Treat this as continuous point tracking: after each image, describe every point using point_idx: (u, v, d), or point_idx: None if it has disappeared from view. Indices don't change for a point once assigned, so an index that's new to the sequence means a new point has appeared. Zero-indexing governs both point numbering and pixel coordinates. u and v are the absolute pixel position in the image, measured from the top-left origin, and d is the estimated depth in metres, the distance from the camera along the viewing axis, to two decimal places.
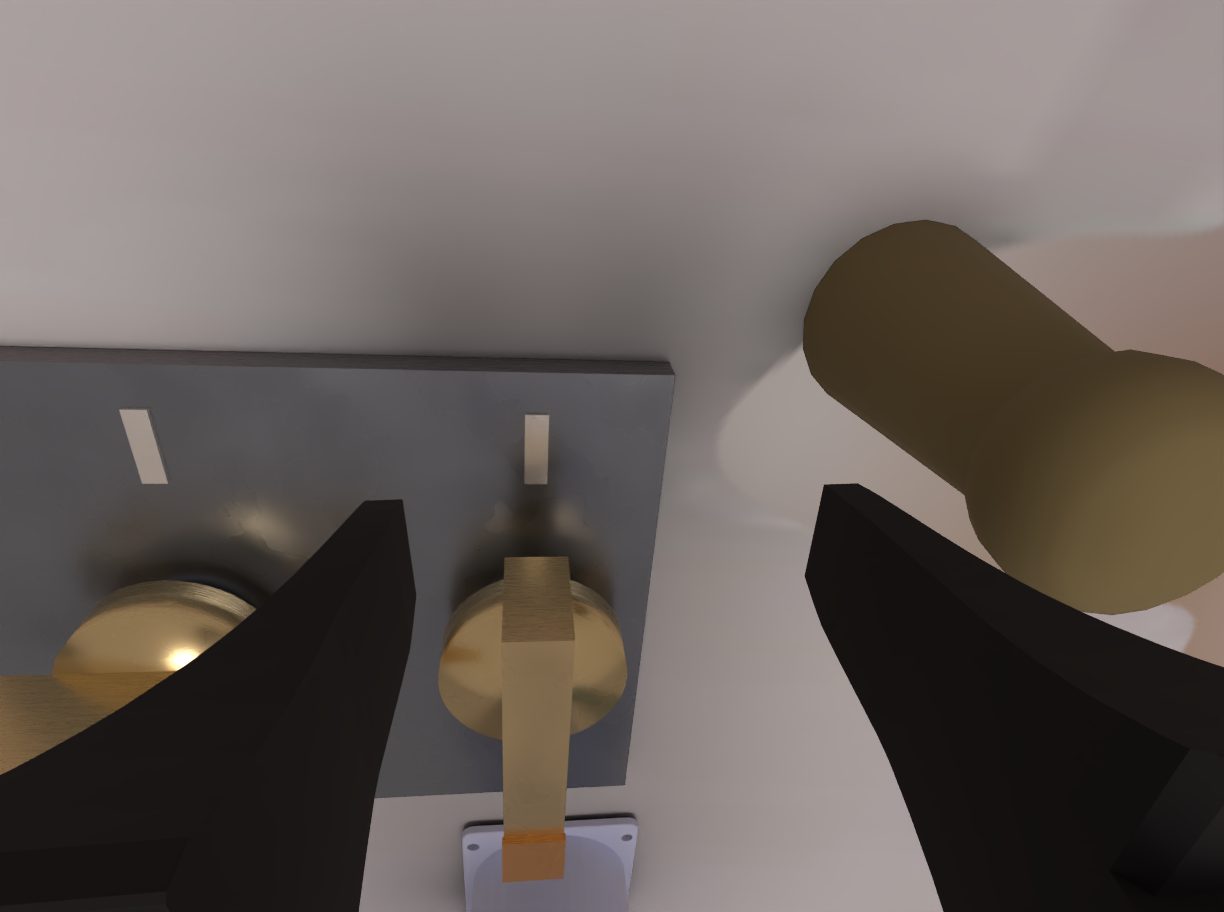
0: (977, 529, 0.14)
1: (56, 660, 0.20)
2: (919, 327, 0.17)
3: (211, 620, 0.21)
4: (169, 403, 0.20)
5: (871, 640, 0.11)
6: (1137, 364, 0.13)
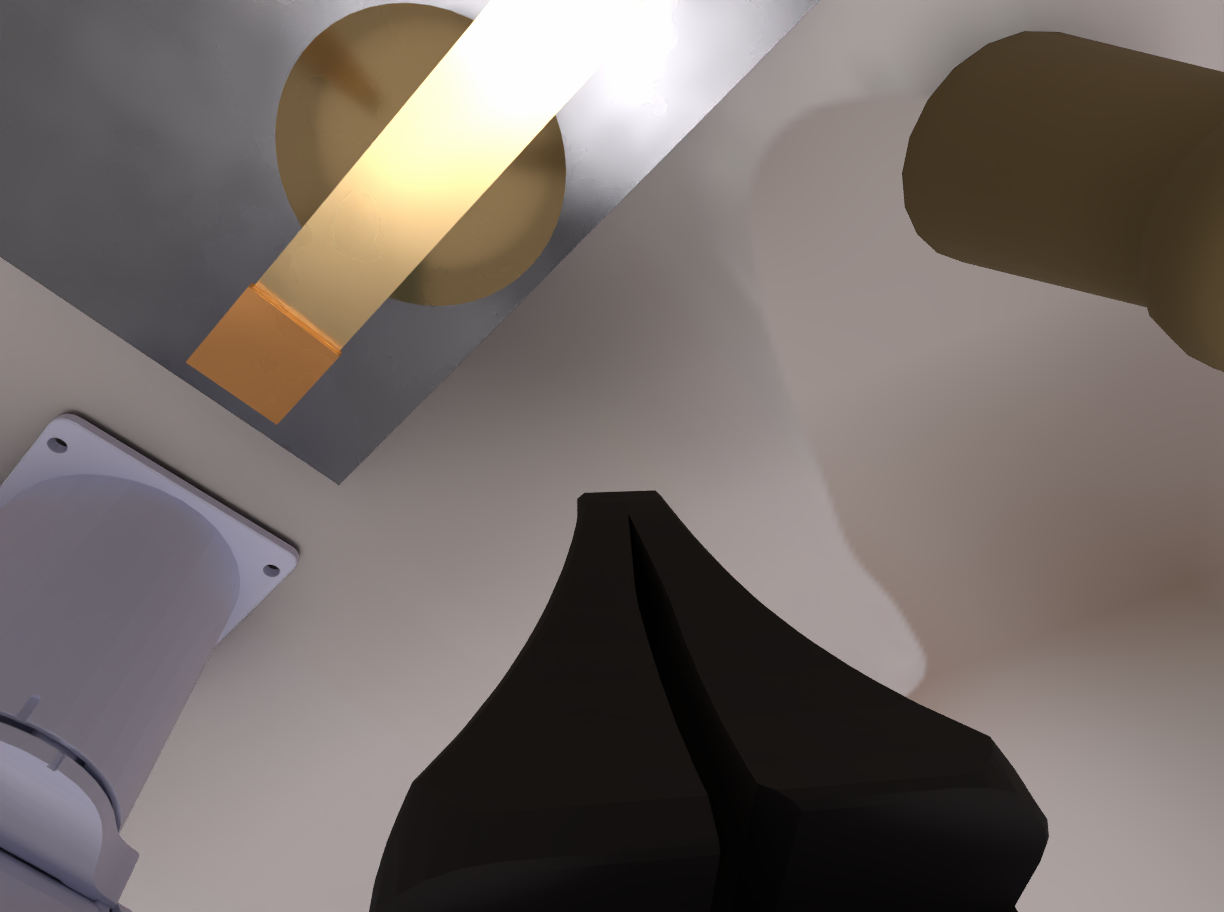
0: (1198, 185, 0.12)
1: None
2: (1148, 62, 0.15)
3: None
4: None
5: None
6: None
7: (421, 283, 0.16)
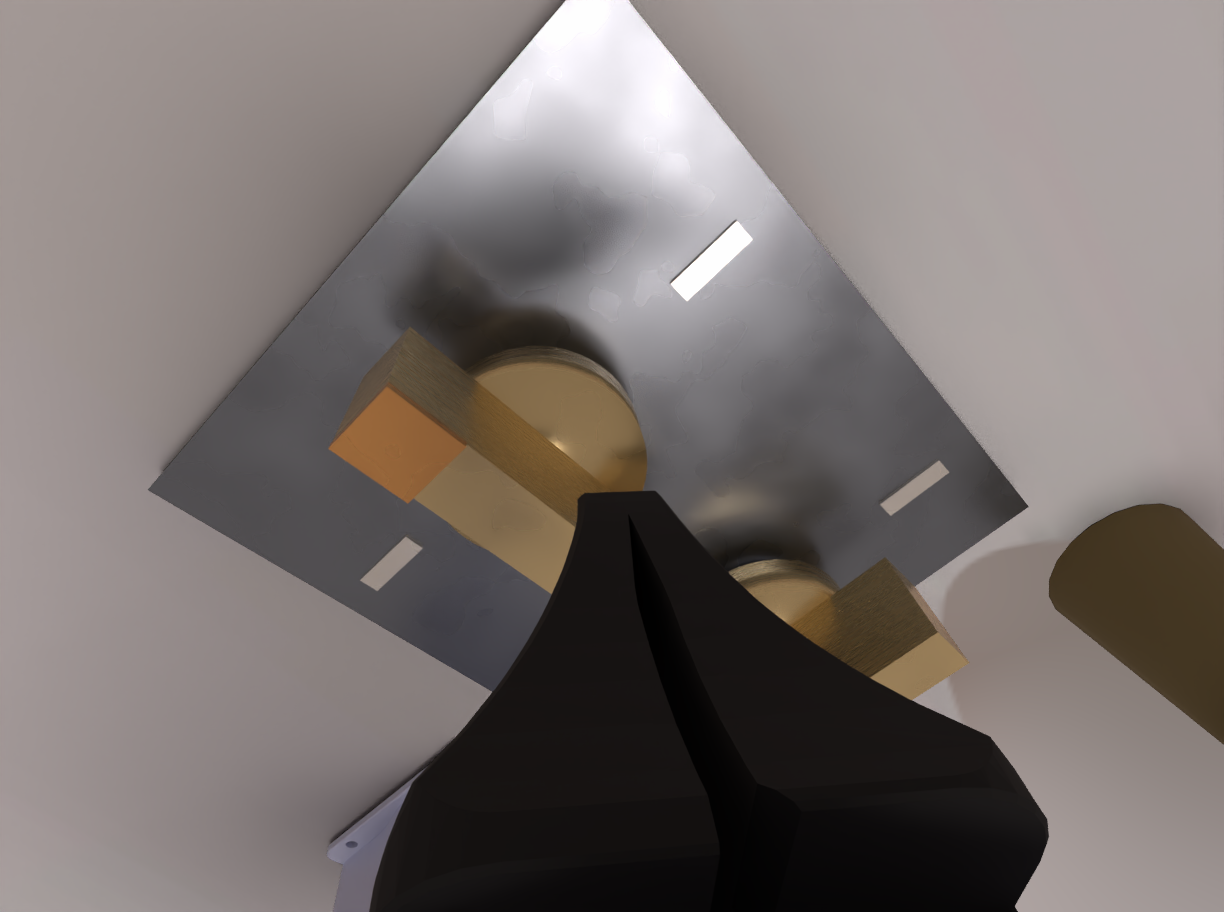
0: None
1: (503, 375, 0.18)
2: None
3: None
4: (768, 249, 0.20)
5: None
6: None
7: None
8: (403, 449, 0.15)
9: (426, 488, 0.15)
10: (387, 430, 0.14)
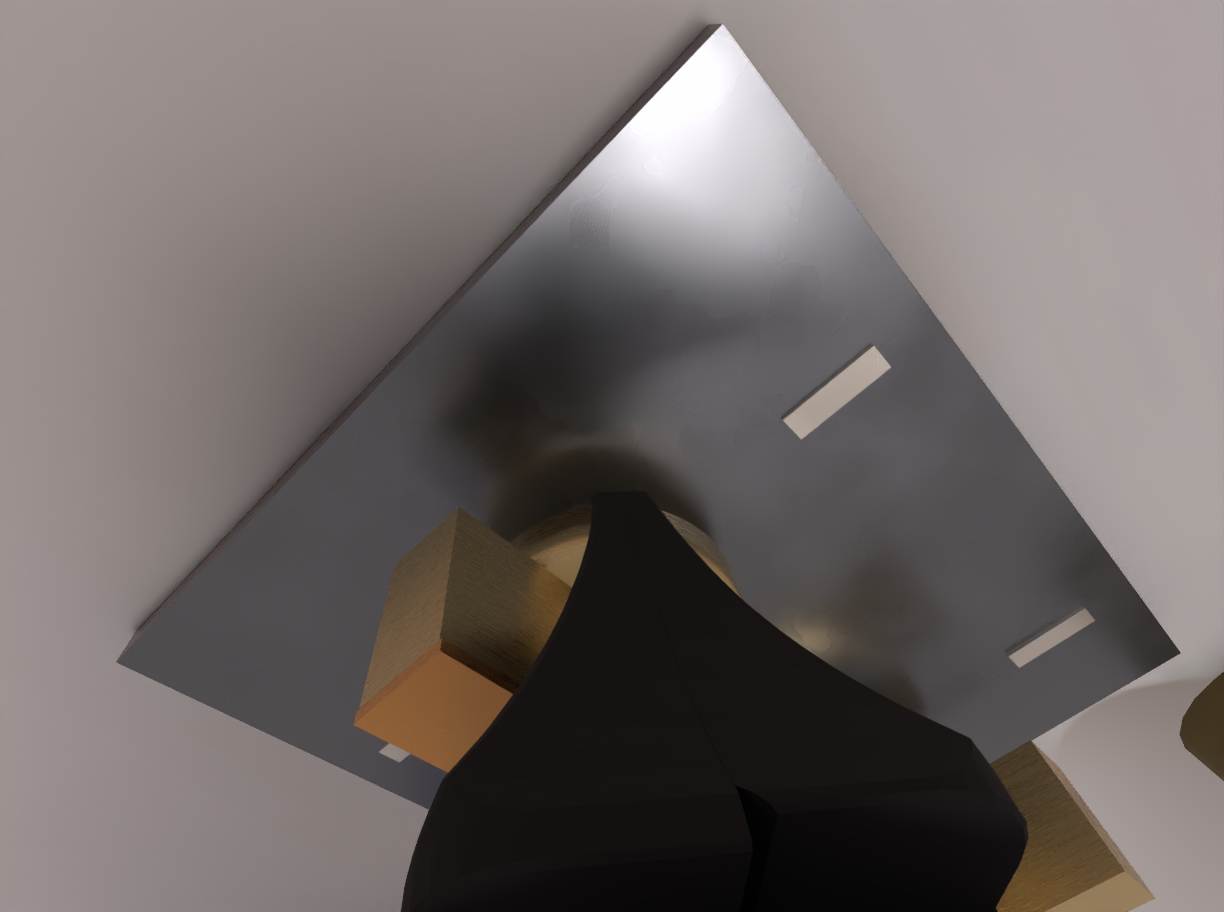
0: None
1: (577, 559, 0.14)
2: None
3: None
4: (908, 377, 0.15)
5: None
6: None
7: None
8: (459, 721, 0.10)
9: None
10: (438, 701, 0.10)
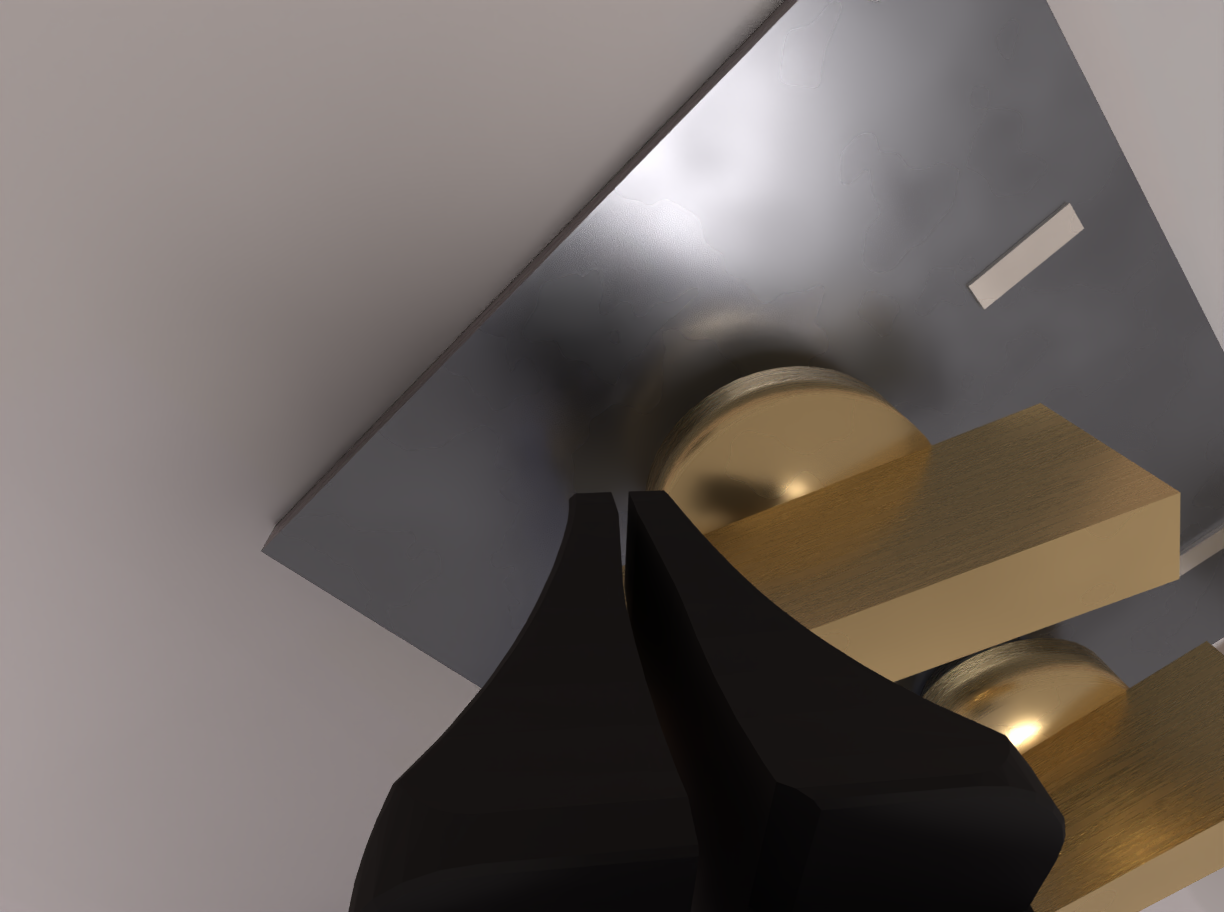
0: None
1: None
2: None
3: (846, 391, 0.13)
4: (1097, 242, 0.15)
5: (652, 653, 0.10)
6: None
7: None
8: None
9: None
10: None
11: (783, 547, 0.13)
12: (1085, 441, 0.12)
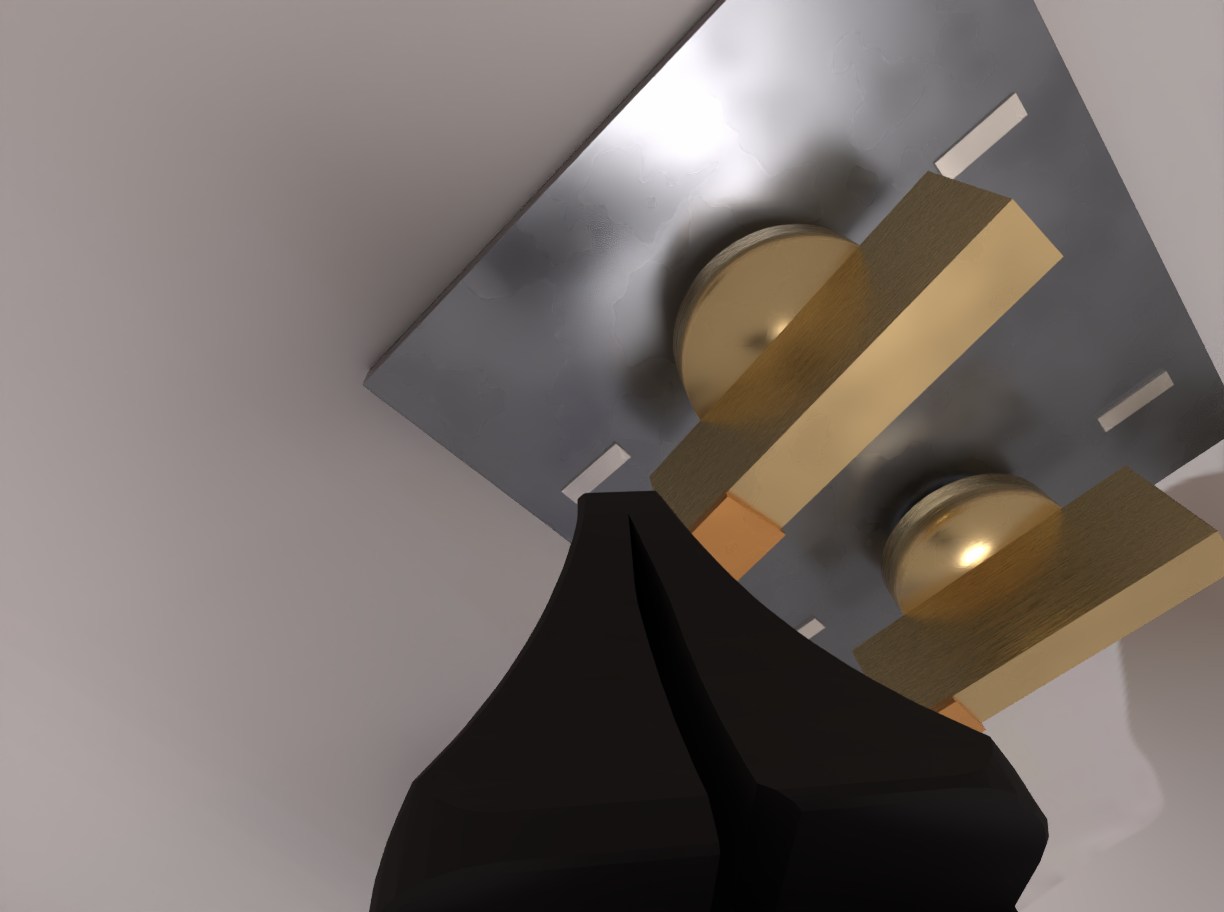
0: None
1: (691, 401, 0.19)
2: None
3: (772, 242, 0.17)
4: (1039, 127, 0.19)
5: None
6: None
7: None
8: (729, 541, 0.17)
9: (773, 517, 0.17)
10: (711, 552, 0.17)
11: (773, 375, 0.17)
12: (955, 188, 0.15)
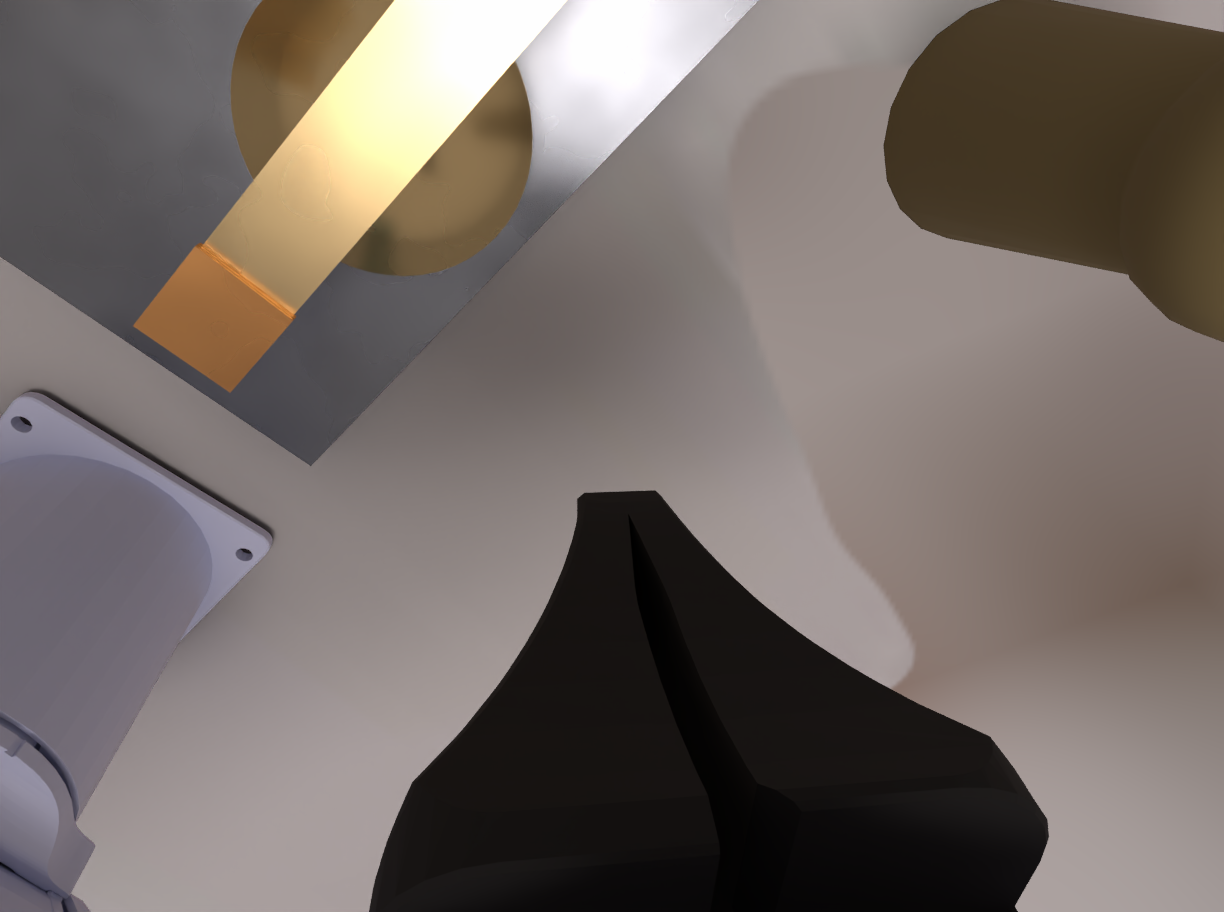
0: (1177, 137, 0.11)
1: None
2: (1129, 21, 0.14)
3: None
4: None
5: None
6: None
7: (385, 252, 0.16)
8: None
9: None
10: None
11: None
12: None
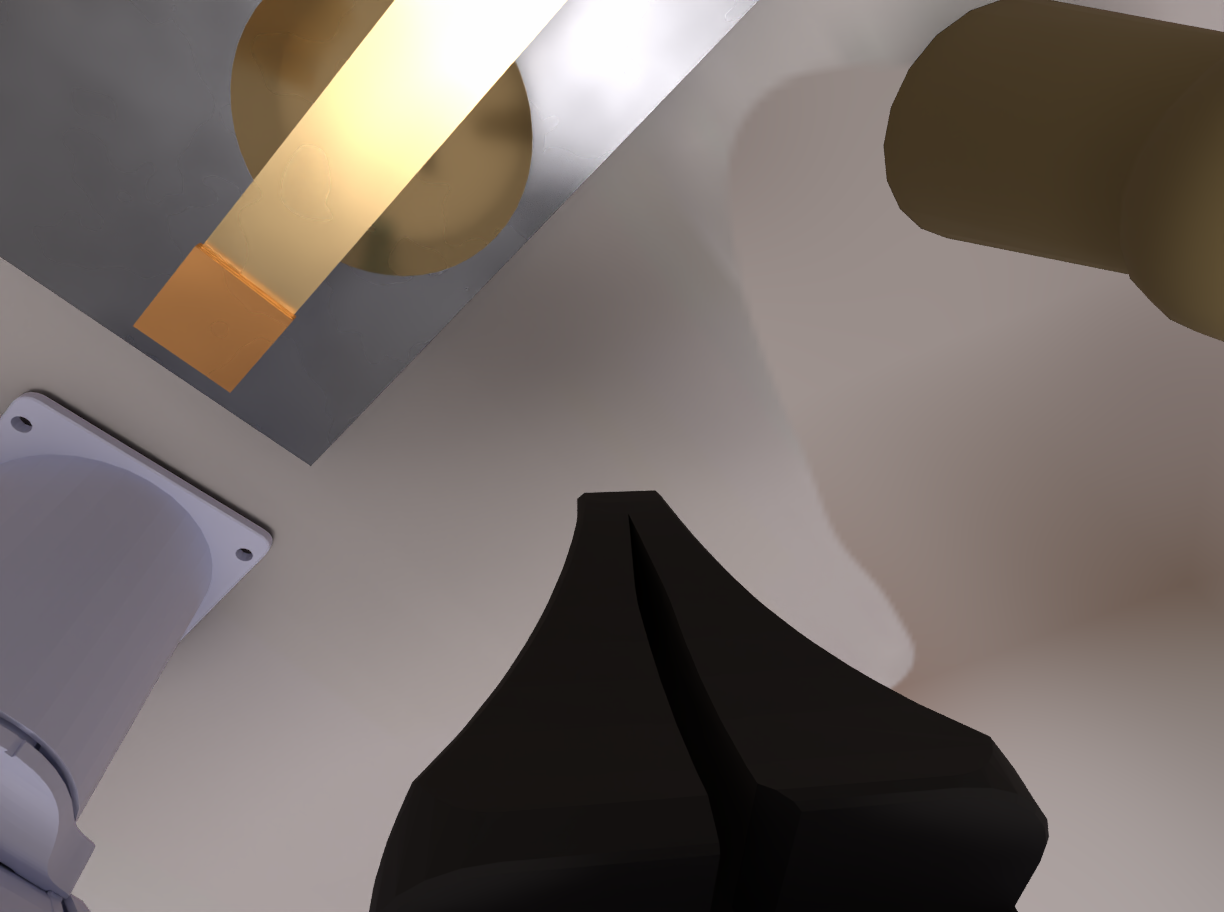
0: (1177, 137, 0.11)
1: None
2: (1130, 20, 0.14)
3: None
4: None
5: None
6: None
7: (385, 252, 0.16)
8: None
9: None
10: None
11: None
12: None
